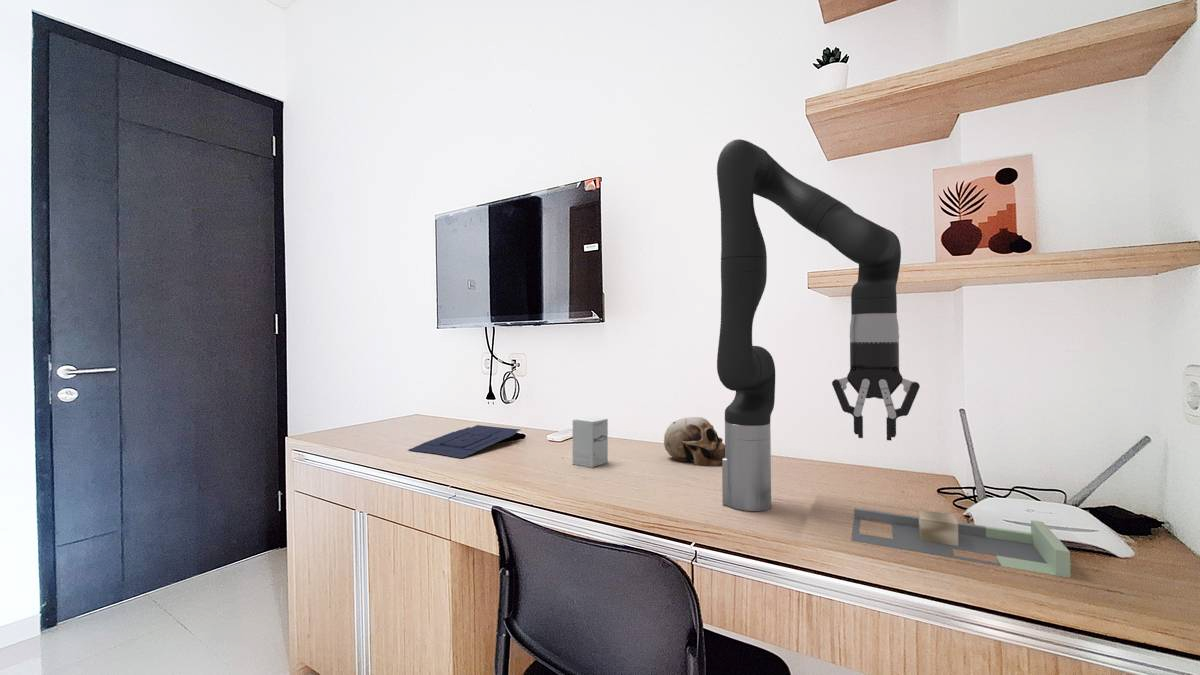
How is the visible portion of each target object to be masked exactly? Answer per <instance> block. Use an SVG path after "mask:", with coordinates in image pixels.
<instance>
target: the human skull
mask: <svg viewBox="0 0 1200 675" xmlns="http://www.w3.org/2000/svg"><path fill="white" fill-rule="evenodd" d="M668 425H669V426H668V427H667V428H666V430H665V433H664V438H663V445H664V446H663V447H664V448H665V451H666V452H667V453H668V455H669V456H670V457H671V458H672V459H674V460H676V461H679V462H693V463H694V465H697V466H701V465H702V466H712V467H714V466H720V467H722V460H723V458H725V443H723V438H722V437H719V435H718V432H717V430H715V428H714V426H713V425H712V424H711V423H710V421H709V420H708V419H706V418H704V417H702V416H701V417H699V416H690V417H685V418H684V417H683V418H680V419H677V420H676V421H672V422H671V423H670V424H668Z"/></svg>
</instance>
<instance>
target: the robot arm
mask: <svg viewBox="0 0 1200 675" xmlns="http://www.w3.org/2000/svg"><path fill="white" fill-rule="evenodd" d="M716 164H717V166H716V177H717V179H716V180H717V187H718V197H719V204H720V241H721V243H720V245H721V247H720V248H721V249H720V251H721V252H720V284H721V286H720V287H721V288H720V291H721V295H720V296H721V298H720V327H719V338H718V345H717V347H718V348H717V357H716V371H717V376H718V378H719V381H720V382H721V385H723V386H724V387H725V388H726V389H728V390H730V391H734V392H735V394H734V397H733V398H734V399H733V400H732V401H731V403H730V404H728V406H727V407H726V408H725V409H724V444H725V458H723V460H722V466H721V470H722V471H721V472H722V474H721V475H722V476H721V477H722V478H721V479H722V487H721V489H722V505H723V506H728V507H731V508H733V509H736V510H740V511H746V512H747V511H748V512H760V511H766V510H769V509H770V508H772V456H771V455H772V454H771V453H772V451H771V449H772V448H771V447H772V446H771V441H772V440H771V436H772V434H771V417H772V413H773V411H774V408H775V398H776V397H775V396H776V395H775V394H776V366H775V362H774V358H773V356H772V354H771V353H770V352H769V351H768V350H767V349H766V348H764V347H762V346H759V345H754V344H753V326H754V325H753V323H754V318H755V314H756V312H757V309H758V306H759V305H760V302H761V299H762V297H763V294H764V292H765V289H766V287H767V286H766V284H767V278H768V277H767V275H768V274H767V273H768V268H767V267H768V266H767V265H768V261H767V260H768V259H767V258H768V257H767V256H768V255H767V248H766V247H767V246H766V242H765V239H764V237H763V236H764V235H763V233H762V230H761V227H760V224H759V221H758V218H757V216H756V210H755V205H754V203H755V202H754V195H756V196H759V197H761V198H763V199H766V200H768V201H770V202H772V203H773V204H775V205H777V206H778V207H780V208H781V209H782V210H783V211H784V212H785V213H786V214H787V215H789V217H790V218H792V219H793V220H794V221H795V222H797V223H798V224H799V225H801V226H802V227H803V228H805V229H806V230H808V231H809V232H810V233H812V234H814V235H816V237H818V238H821V239H822V240H824V241H826V242H827V243H829V244H830V245H831V246H832V247H833V248H834V249H835V250H836V251H838V252H839V253H840V254H842V255H843V256H845V258H847V259H848V260H851V261H852V262H854V263H856V264H858V272H857V273H858V276H857V281H856V283H854V285H853V286H852V287H851V292H850V294H851V295H850V304H851V306H850V309H851V310H850V313H851V314H850V324H849V367H850V368H849V372H848V373H847V376H846V377H842V378H839V379H838V378H835V379H834V380H832V382H831V384H832V387H833V389H834V391H835V395H836V397H837V401H838V402H839V405H840V407H841V409H842V411H843V412H844V413H847V414H850V415H852V417H853V432H854V434H855V435H857V437H858V439H863V438H864V422H863V420H864V418H863V417H864V416H863V415H862V414H863V409H864V404H865V401H866V399H873V398H876V399H878V400H879V399H880V400H883V402H884V406H885V409H886V412H887V416H886V441H892V438H896V436H897V419H898V418H900V417H906V416H908V415H909V413H910V411H911V409H912V406H913V404H914V401H915V399H916V397H917V394H918V392H919V390H920V387H921V386H920V384H919V382H917V381H913V380H909V379H905V378H903V375H902V373H901V372H900V344H899V343H900V341H899V340H900V332H899V327H900V326H899V321H898V314H897V313H898V304H897V302H898V301H897V299H898V296H897V284H898V280H899V279H898V278H899V275H900V274H899V273H900V266H901V259H902V249H901V248H902V247H901V242H900V240H899V237H898V236H897V235H896V234H895V232H894V231H892V230H890V229H888V228H886V227H883V226H881V225H879V224H877V223H876V222H873V221H871V220H870V219H868V218H866V217H865V216H863V215H860V214H858V213H857V212H855V211H854V210H853V209H852V208H850V207H849V206H848V205H847V204H845V203H843V202H842V201H841V200H838V199H837V198H835V197H833V196H831V195H830V194H828V193H826V192H825V191H823V190H820V189H819V188H817V187H815V186H812V185H810V184H809V183H807V182H804V181H802V180H801V179H799V178H798V177H796V176H794V175H793V174H792V173H790V172H789V171H788V170H786V169H785V168H784V167H783V166H782V165H780V163H779V162H777V161H776V160H775V159H774V157H772V156H771V155H770V154H769V153H768V151H767V150H765V149H764V148H762V147H760V146H758V145H756V144H754V143H752V142H750V141H748V140H745V139H740V138H738V139H733V140H731V141H729V142H728V143H727V144H726V145H725V146H724V147H723V148H722V150H721V152H720V154H719V156H718V159H717V163H716ZM848 383H849V385H850V386H851V387H853V389H854V390H855V392H856V393H857V394H858V395H857V399H856V402H855V406H852V405H850V402H849V400H848V398H847V395H846V393H845V390H847V388H848V387H847V386H848V385H847V384H848ZM900 385H903V386H902V387H903V391H904V393H905V396H904V399H903V401H902V404H901V405H900V407H899V408H895V405H894V401H893V398H892V395H893V393H894V392H895V391H896V390H897V389H898V388H899V386H900Z"/></svg>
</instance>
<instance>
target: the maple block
mask: <svg viewBox="0 0 1200 675" xmlns="http://www.w3.org/2000/svg"><path fill="white" fill-rule="evenodd" d="M918 517H919V533H920V538H921V540H923V541H929V542H936V543H942V544H948V545H955V546H958V523H959V522H958V520H957V518H956V516H955V514H953V513H945V512H939V511H932V510H924V509H923V510H922V509H918ZM957 522H958V523H957Z"/></svg>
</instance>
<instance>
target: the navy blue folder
mask: <svg viewBox="0 0 1200 675" xmlns="http://www.w3.org/2000/svg"><path fill="white" fill-rule="evenodd" d="M521 430H522V429H520V428H519V429H518V428H509V427H508V428H507V427H500V426H499V427H498V426H490V425H489V426H488V425H480V424H476V425H474V426H472V427H470V426H469V427H466V428H462V429H459V430H455V431H452V432H448V433H447V434H444V435H441V436H439V437H436V438H434V439H430V440H428V441H426V442H423V443H420V444H418V445H416V446H414V447H411V448H410V449H408V451H414V452H421V453H430V454H438V455H440V456H448V457H453V458H454V457H455V458H460V459H463V458H465V457H468V456H470V455H472V454H474V453H477V452H479V451H480V450H483V449H485V448H487V447H489V446H492V445H494V444H496V443H499V442H500V441H503V440H506V439H509V438H511V437H513V436H514V435H515V434H518V433H519V432H520V431H521Z"/></svg>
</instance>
